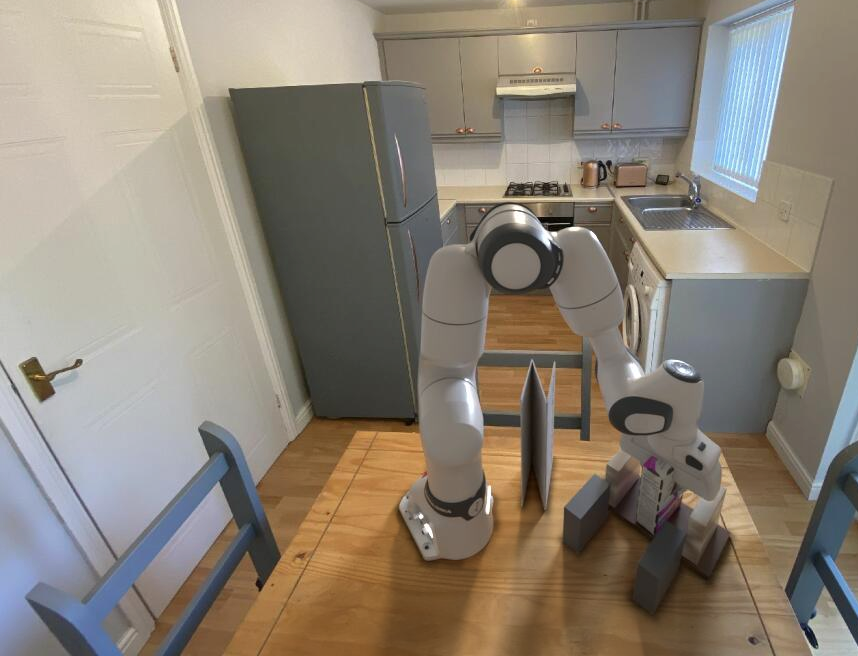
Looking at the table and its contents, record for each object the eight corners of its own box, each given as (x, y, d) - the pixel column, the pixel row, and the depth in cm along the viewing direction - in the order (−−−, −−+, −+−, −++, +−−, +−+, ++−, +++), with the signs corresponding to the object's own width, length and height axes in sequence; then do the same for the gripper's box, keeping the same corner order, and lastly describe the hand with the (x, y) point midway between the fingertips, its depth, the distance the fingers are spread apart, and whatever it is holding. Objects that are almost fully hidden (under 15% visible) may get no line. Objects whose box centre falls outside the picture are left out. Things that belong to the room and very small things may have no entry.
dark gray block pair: (562, 540, 87) (563, 506, 83) (592, 505, 94) (594, 473, 91) (652, 615, 74) (659, 579, 70) (678, 568, 82) (686, 533, 78)
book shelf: (592, 498, 96) (595, 458, 91) (619, 467, 104) (623, 429, 99) (708, 581, 79) (719, 537, 75) (729, 536, 87) (741, 494, 83)
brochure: (545, 510, 94) (547, 403, 82) (521, 506, 95) (520, 399, 83) (552, 460, 106) (555, 361, 95) (531, 457, 107) (531, 359, 96)
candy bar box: (661, 490, 96) (670, 435, 90) (681, 504, 93) (692, 448, 87) (633, 520, 90) (641, 463, 83) (654, 537, 86) (664, 479, 80)
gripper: (616, 418, 87) (611, 467, 93) (718, 473, 74) (705, 527, 80) (631, 403, 92) (626, 451, 97) (730, 453, 78) (717, 505, 84)
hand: (662, 485), depth 88 cm, fingers closed on candy bar box, 5 cm apart
